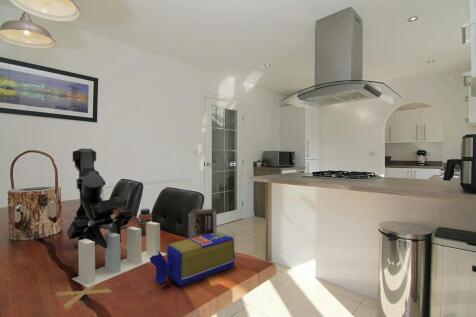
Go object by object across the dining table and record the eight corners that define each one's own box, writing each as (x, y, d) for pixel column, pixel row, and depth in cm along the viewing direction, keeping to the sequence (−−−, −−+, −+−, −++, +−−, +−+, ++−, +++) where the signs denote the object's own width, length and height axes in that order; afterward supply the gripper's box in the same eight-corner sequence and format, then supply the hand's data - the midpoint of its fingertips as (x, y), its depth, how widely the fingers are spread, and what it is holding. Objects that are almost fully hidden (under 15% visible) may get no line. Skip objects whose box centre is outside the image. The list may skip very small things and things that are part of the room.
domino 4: (155, 256, 87) (155, 224, 87) (146, 253, 90) (146, 222, 90) (160, 254, 89) (159, 223, 89) (151, 251, 92) (150, 221, 92)
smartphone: (115, 230, 120) (97, 226, 127) (115, 232, 120) (97, 227, 127) (129, 227, 126) (111, 222, 134) (129, 228, 126) (111, 224, 134)
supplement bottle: (139, 236, 112) (138, 211, 112) (137, 233, 117) (137, 208, 117) (152, 234, 114) (152, 209, 114) (151, 231, 120) (150, 207, 120)
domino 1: (87, 283, 68) (87, 243, 68) (78, 279, 71) (78, 240, 71) (95, 280, 70) (94, 241, 70) (86, 276, 73) (85, 238, 73)
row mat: (71, 281, 71) (71, 278, 71) (151, 251, 94) (150, 249, 94) (87, 290, 66) (87, 287, 66) (167, 256, 89) (167, 254, 89)
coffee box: (217, 252, 92) (217, 208, 92) (214, 259, 86) (213, 212, 86) (193, 251, 93) (193, 208, 93) (188, 258, 87) (187, 212, 87)
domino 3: (136, 264, 81) (135, 230, 81) (127, 260, 84) (126, 227, 84) (141, 261, 83) (141, 228, 83) (132, 258, 85) (132, 226, 85)
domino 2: (114, 273, 75) (113, 236, 75) (105, 269, 77) (104, 233, 77) (120, 270, 76) (120, 234, 76) (111, 266, 79) (111, 232, 79)
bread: (238, 267, 80) (238, 235, 80) (164, 296, 64) (163, 255, 64) (219, 258, 87) (219, 228, 87) (149, 281, 72) (149, 245, 71)
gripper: (70, 193, 72) (91, 238, 66) (130, 186, 87) (150, 222, 81) (59, 217, 76) (77, 261, 70) (117, 206, 92) (136, 242, 86)
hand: (113, 245), depth 77 cm, fingers open, 4 cm apart
